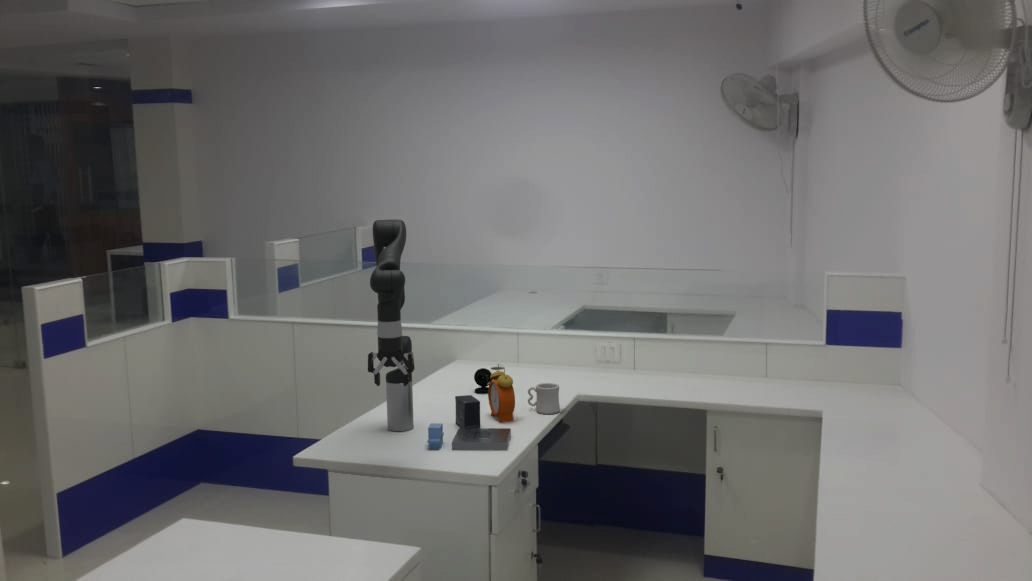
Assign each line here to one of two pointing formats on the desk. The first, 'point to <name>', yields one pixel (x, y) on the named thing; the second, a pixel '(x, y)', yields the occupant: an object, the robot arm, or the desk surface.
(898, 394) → the desk surface
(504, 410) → the alarm clock
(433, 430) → the block
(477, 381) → the black desk fan
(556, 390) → the mug
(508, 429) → the plate
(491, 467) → the desk surface
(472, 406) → the small box
